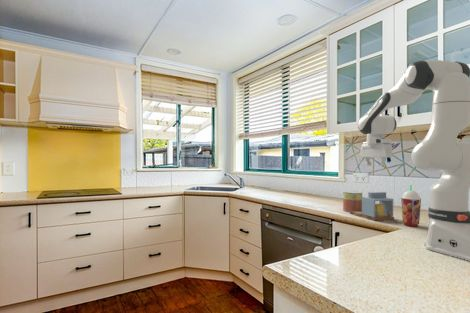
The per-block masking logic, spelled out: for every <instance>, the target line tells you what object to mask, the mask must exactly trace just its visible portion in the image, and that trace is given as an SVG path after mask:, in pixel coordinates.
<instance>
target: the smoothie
mask: <svg viewBox="0 0 470 313" xmlns="http://www.w3.org/2000/svg"><path fill="white" fill-rule="evenodd" d="M400 198H401V199H400V201H401V202H400V203H401V213H402V214H401V216H402V217H401V218H402V222H403V224H404V226H407V227H413V228H416V227H418V226H419V224H420V219H421V218H420V217H421V205H422V203H421V202H422V198H421V197H420V194H419V193H418V192H417V191H415V190H413V189H412V184H410V185H409V189H408V190H407V191H405V192H403V194H402V195H401V197H400Z"/></svg>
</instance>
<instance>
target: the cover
mask: <svg viewBox="0 0 470 313" xmlns="http://www.w3.org/2000/svg"><path fill="white" fill-rule="evenodd" d="M367 195H368V196H362V214H364V215H368V216H371V217H375V204H376V202H379V204H380V205H384V214H385V215H387V211H391V216H393V217H394V198H390V197H387V192H386V191H385V192H384V191H372V192H368V194H367Z"/></svg>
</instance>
